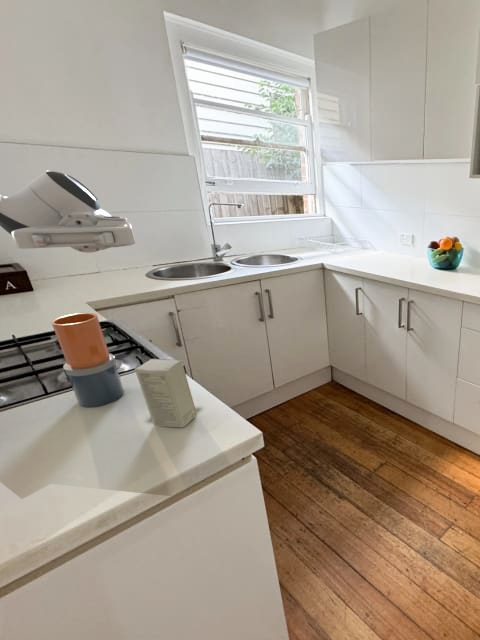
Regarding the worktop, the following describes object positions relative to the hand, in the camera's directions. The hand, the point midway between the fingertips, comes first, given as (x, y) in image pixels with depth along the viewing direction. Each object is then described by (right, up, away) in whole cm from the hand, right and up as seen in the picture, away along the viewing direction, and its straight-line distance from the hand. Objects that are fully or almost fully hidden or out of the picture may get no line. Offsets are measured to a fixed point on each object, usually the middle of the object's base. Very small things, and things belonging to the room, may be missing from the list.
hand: (69, 241), depth 77 cm
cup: (+5, -24, -1) cm, 25 cm away
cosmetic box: (+24, -36, -4) cm, 43 cm away
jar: (+5, -32, +2) cm, 32 cm away
